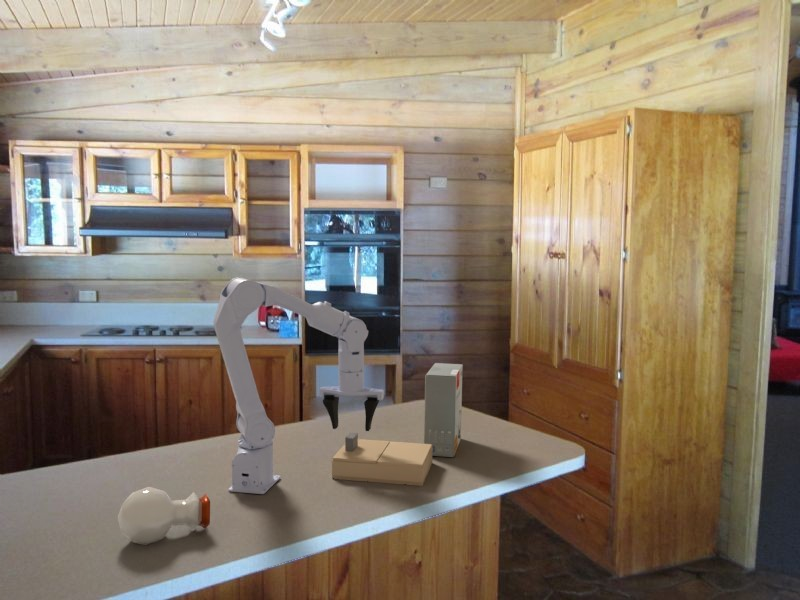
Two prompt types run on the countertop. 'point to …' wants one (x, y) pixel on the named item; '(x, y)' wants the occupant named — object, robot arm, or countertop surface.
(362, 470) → the carton
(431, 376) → the hard drive box
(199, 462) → the countertop surface
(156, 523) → the potion bottle
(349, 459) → the lid flap
